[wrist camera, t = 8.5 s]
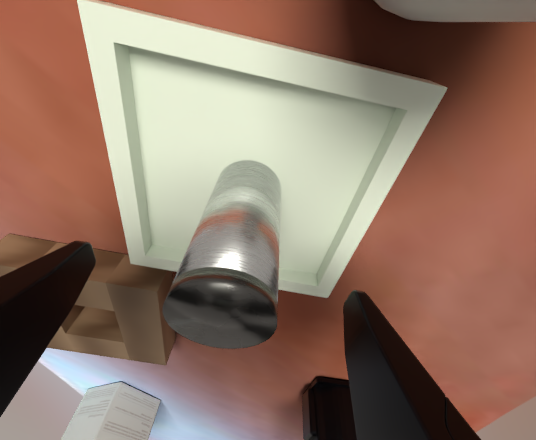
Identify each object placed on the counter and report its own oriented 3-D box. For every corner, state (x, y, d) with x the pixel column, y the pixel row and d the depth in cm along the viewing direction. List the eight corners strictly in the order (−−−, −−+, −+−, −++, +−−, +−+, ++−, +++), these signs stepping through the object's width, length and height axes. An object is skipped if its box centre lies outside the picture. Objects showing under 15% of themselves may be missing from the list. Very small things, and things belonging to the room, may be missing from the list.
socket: (171, 262, 18) (157, 291, 16) (175, 338, 25) (165, 365, 23) (8, 233, 17) (-27, 260, 15) (58, 319, 24) (37, 346, 22)
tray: (429, 80, 10) (448, 88, 9) (325, 280, 18) (327, 298, 17) (103, 1, 10) (76, -2, 8) (141, 247, 17) (130, 263, 16)
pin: (288, 167, 13) (289, 297, 7) (273, 220, 15) (265, 354, 9) (219, 153, 12) (158, 274, 6) (215, 209, 14) (165, 339, 9)
